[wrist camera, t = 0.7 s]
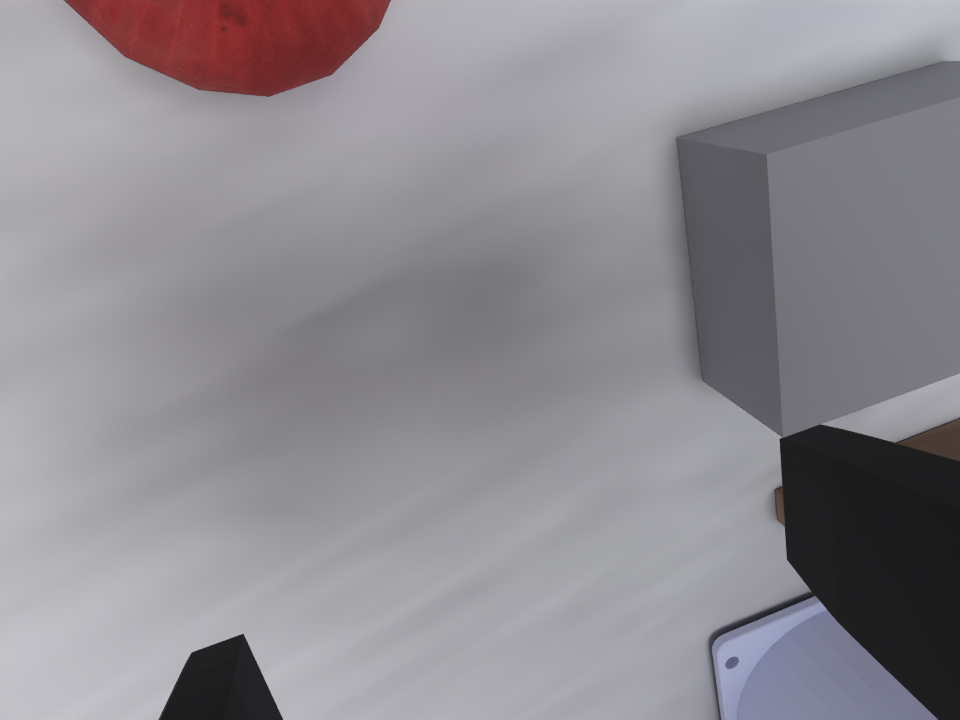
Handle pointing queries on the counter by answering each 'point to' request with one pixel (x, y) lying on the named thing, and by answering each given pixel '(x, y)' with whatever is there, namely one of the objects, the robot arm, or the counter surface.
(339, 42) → the red rounded lump
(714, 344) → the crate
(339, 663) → the counter surface
